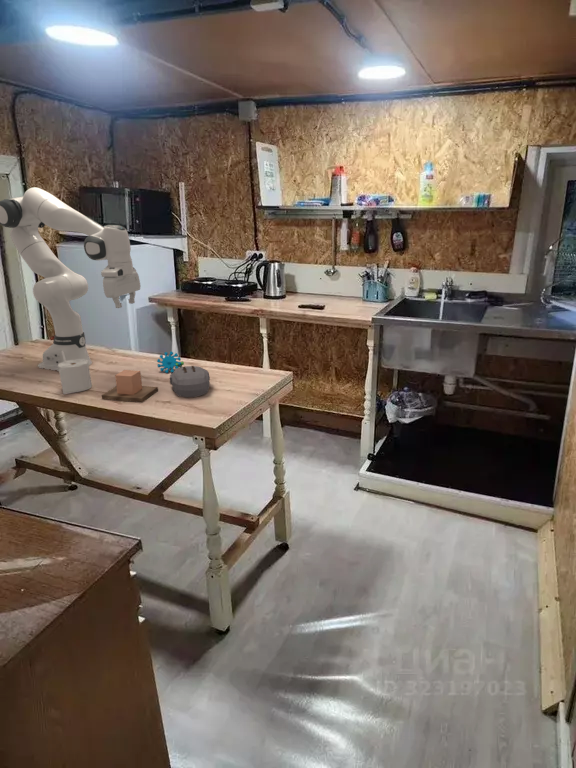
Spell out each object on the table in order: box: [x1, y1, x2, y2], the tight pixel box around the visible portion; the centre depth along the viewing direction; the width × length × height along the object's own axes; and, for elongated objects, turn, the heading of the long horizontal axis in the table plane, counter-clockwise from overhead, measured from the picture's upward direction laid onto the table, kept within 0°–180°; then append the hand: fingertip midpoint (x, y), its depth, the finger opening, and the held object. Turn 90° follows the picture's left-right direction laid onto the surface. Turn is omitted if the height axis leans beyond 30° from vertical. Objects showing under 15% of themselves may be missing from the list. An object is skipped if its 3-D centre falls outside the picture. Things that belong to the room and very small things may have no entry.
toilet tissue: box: [58, 359, 93, 395], centre depth 188 cm, size 11×12×10 cm
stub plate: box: [101, 385, 159, 403], centre depth 181 cm, size 16×12×6 cm
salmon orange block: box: [114, 369, 143, 395], centre depth 181 cm, size 6×6×7 cm
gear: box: [156, 351, 185, 374], centre depth 209 cm, size 11×6×10 cm
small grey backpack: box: [169, 365, 211, 398], centre depth 185 cm, size 15×8×20 cm
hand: (125, 305), depth 193 cm, fingers open, 8 cm apart
